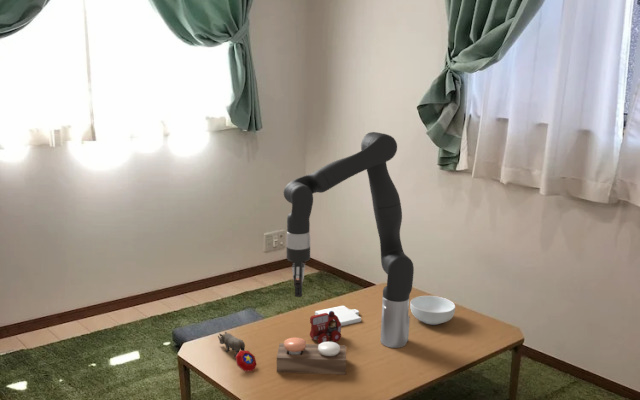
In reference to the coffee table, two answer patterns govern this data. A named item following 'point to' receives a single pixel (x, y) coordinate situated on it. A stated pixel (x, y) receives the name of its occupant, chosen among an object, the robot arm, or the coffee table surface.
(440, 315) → the cereal bowl
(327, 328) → the toy fire truck
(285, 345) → the peach dome
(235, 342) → the rhino figurine
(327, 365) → the plunger block
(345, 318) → the mounting plate
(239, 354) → the button
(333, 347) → the white mushroom knob
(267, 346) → the coffee table surface
